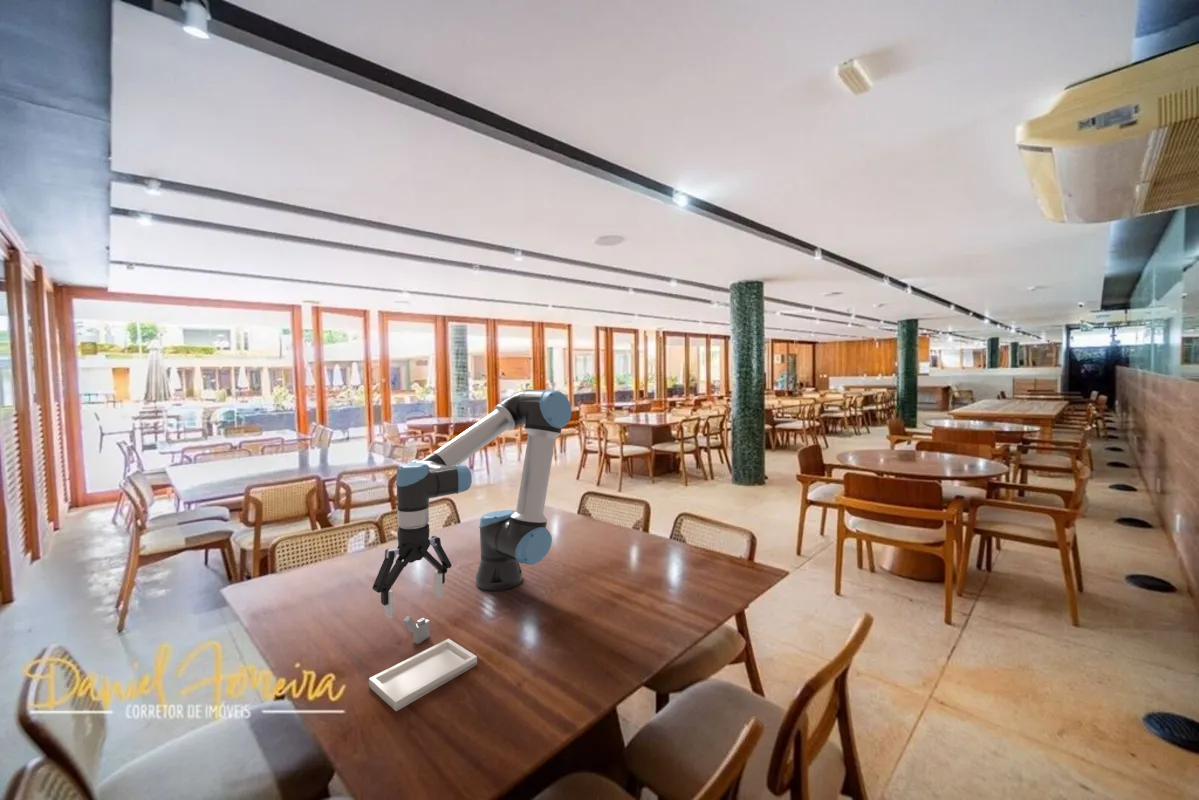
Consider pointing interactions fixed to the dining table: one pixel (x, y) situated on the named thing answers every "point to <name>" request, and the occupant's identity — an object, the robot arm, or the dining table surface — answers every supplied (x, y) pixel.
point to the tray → (421, 673)
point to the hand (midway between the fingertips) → (414, 606)
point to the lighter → (418, 628)
